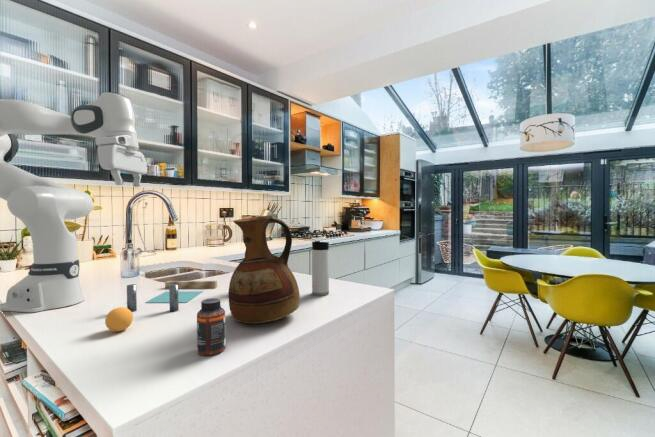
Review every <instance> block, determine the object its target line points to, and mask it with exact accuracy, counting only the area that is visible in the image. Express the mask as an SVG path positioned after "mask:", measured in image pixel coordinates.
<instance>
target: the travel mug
mask: <svg viewBox="0 0 655 437" xmlns="http://www.w3.org/2000/svg"><path fill="white" fill-rule="evenodd" d="M329 246H330V244H329V242H328V241H320V240H314V241H311V294H312V295H313V296H317V297H325V296H327V295H329V294H330V249H329Z"/></svg>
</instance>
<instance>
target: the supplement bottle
mask: <svg viewBox="0 0 655 437" xmlns="http://www.w3.org/2000/svg"><path fill="white" fill-rule="evenodd" d="M200 303H201V306H200V307H201V308H200V310H198V311H197V313H196V339H197V340H196V341H197V345H196V346H197V353H198V354H199V355H201V356H215V355H217V354H220V353H222V352H223V351H224V350H225V349H226V348H227V347H226V343H227V342H226V341H227V340H226V338H227V336H226V310H225V309H224V308H223V307H222V306H221V305H222V304H221V299H220V298H217V297H212V298H210V297H209V298H206V299H203V300H201V302H200Z"/></svg>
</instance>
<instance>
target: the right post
mask: <svg viewBox="0 0 655 437" xmlns="http://www.w3.org/2000/svg"><path fill="white" fill-rule="evenodd" d="M168 289H169V291H168V292H169V300H170V303H169V312H171V313H174V312H179V310H180V309H179V304H180V303H178V291H179V288H178V284H171V285H169V288H168Z"/></svg>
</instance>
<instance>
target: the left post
mask: <svg viewBox="0 0 655 437" xmlns="http://www.w3.org/2000/svg"><path fill="white" fill-rule="evenodd" d="M137 299H138V298H137V284H134V283H133V284H127V285H126V308H127V309H129V310H130V311H131V312H132V313H133V312H136V311H137V310H138V309H137V308H138V306H137Z"/></svg>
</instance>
